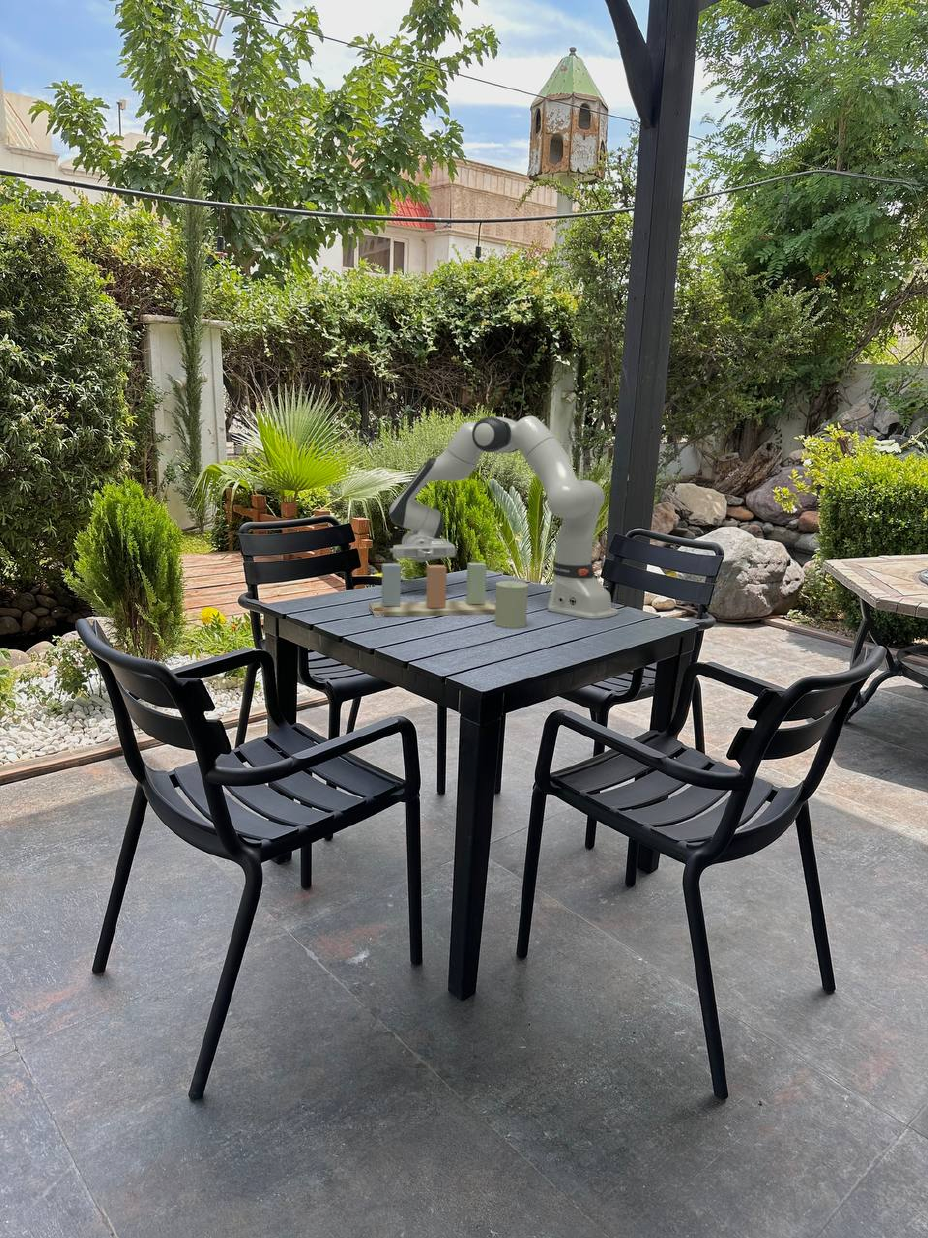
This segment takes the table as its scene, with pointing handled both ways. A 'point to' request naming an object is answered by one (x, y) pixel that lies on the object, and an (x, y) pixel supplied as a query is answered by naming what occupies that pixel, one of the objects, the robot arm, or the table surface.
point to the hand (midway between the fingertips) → (428, 554)
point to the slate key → (391, 584)
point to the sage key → (476, 583)
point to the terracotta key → (436, 586)
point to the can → (511, 604)
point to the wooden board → (433, 609)
